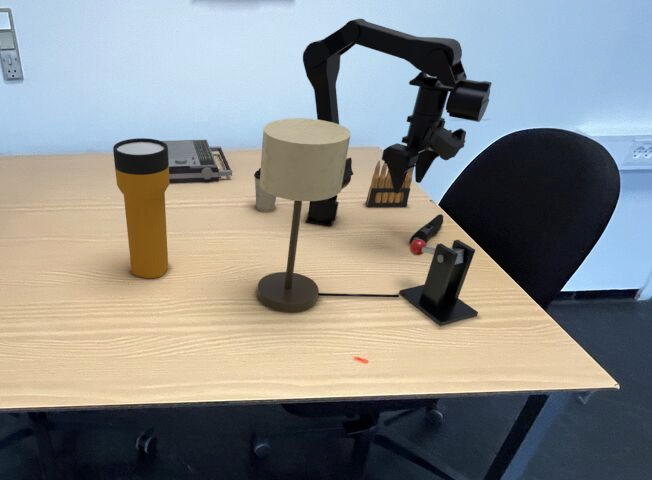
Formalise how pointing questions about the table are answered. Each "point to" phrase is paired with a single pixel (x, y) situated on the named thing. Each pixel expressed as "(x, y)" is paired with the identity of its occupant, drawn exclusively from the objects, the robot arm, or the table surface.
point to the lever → (432, 250)
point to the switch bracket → (443, 286)
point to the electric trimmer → (428, 229)
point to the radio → (194, 162)
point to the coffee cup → (263, 196)
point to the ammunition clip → (387, 189)
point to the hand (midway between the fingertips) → (407, 187)
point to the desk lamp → (300, 195)
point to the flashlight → (144, 202)
